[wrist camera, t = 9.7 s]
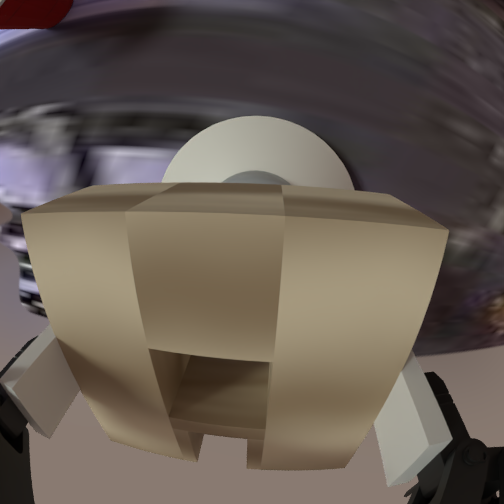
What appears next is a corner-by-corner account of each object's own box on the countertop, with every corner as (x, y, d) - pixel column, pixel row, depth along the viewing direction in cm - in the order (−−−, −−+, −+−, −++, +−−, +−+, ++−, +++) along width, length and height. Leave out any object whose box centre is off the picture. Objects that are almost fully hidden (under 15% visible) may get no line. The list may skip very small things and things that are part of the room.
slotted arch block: (92, 185, 10) (21, 213, 6) (388, 194, 9) (449, 229, 5) (136, 386, 14) (110, 440, 10) (335, 405, 13) (344, 467, 9)
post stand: (160, 120, 23) (58, 115, 10) (361, 126, 22) (448, 119, 9) (170, 294, 30) (114, 389, 17) (338, 305, 29) (369, 412, 16)
